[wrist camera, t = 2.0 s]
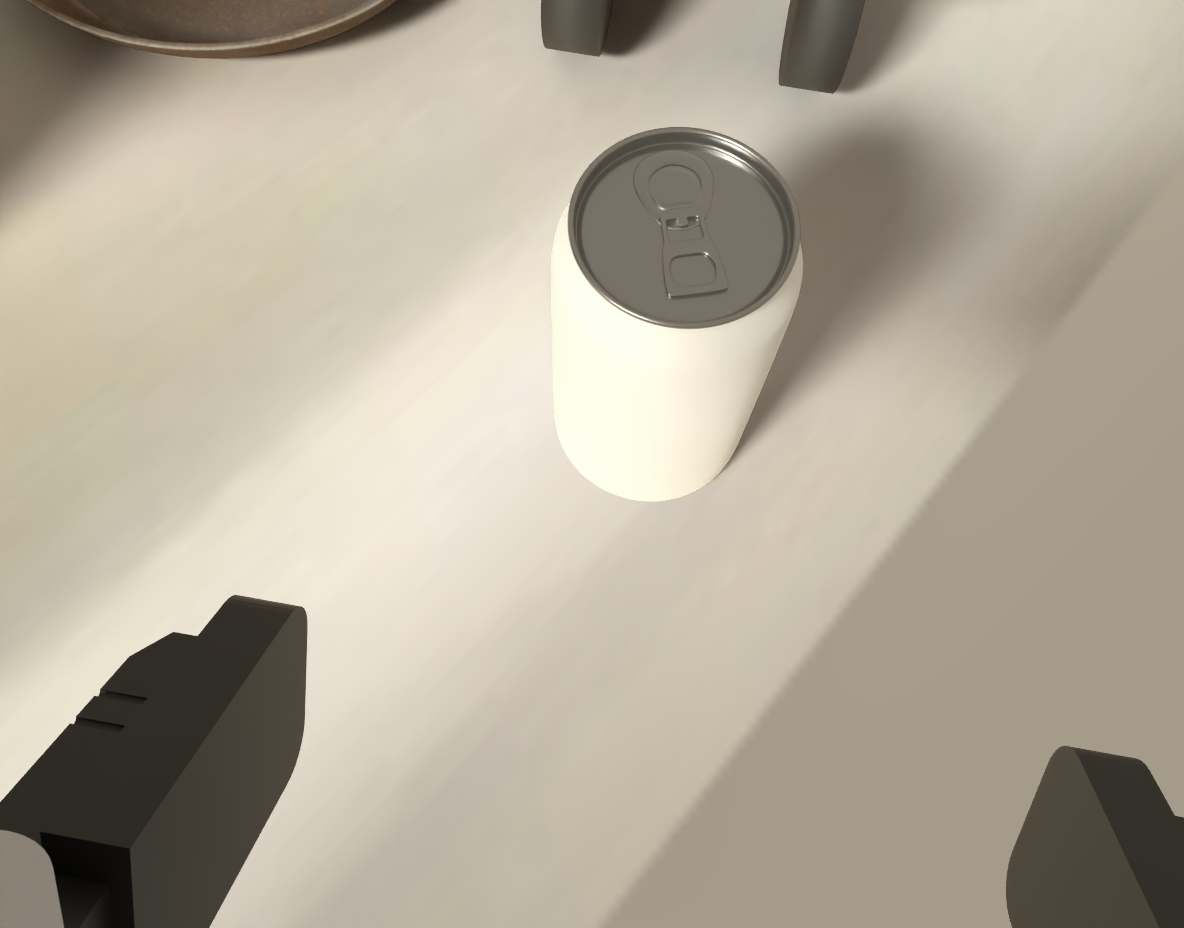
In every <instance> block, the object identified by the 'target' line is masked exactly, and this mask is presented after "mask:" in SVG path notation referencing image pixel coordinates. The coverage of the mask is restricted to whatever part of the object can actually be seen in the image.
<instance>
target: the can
mask: <svg viewBox="0 0 1184 928" xmlns="http://www.w3.org/2000/svg"><path fill="white" fill-rule="evenodd" d="M800 235H801V232H800V219H799V214H798V209H797V206H796V203H795V200H794V198H793V195H792V193H791V191H790V189H789V187H788V186H787V184H786V182H785V181H784V179H783V178H782V177H781V175H780V174H779V173H778V171H777V170H776V169H775V168H774V167H773V166H772V165H771V164H770V163H769V162H768V161H767V160H766V159H765V158H764V157H762V156H761V155H760V154H759V153H757V152H756V151H755V150H753V149H752V148H750V147H748V146H747V145H745V144H743V143H741V142H739V141H738V140H735V139H733V138H731V137H728V136H726V135H723V134H720V133H717V132H713V131H709V130H704V129H698V128H689V127H668V128H660V129H654V130H649V131H645V132H641V133H638V134H635V135H633V136H630V137H628V138H626V139H624V140H622V141H620V142H618V143H616V144H614V145H613V146H611V147H610V148H608V149H607V150H605V151H604V152H603V153H602V154H600V155H599V156H598V157H597V158H596V159H595V160H594V161H593V162H592V163H591V164H590V165H589V167H588V168H587V169H586V170H585V172H584V173H583V175H582V176H581V178H580V179H579V181H578V183H577V185H576V187H575V189H574V192H573V195H572V198H571V201H570V202H569V204H568V205H567V207H566V209H565V210H564V212H563V214H562V216H561V218H560V221H559V223H558V226H557V229H556V233H555V237H554V242H553V248H552V259H551V315H552V361H553V396H554V415H555V424H556V429H557V433H558V436H559V440H560V442H561V445H562V447H563V449H564V451H565V453H566V455H567V456H568V458H569V459H570V461H571V462H572V463H573V465H574V466H575V467H576V468H577V469H578V471H579V472H580V473H581V474H582V475H584V476H585V477H586V478H587V479H588V480H589V481H591V482H592V483H594V484H595V485H597V486H598V487H600V488H602V489H603V490H605V491H607V492H610V493H612V494H614V495H617V496H620V497H623V498H627V499H632V500H638V501H663V500H670V499H674V498H678V497H681V496H684V495H687V494H689V493H692V492H694V491H696V490H698V489H699V488H701V487H703V486H704V485H706V484H707V483H708V482H710V481H711V480H712V479H713V478H715V477H716V476H717V475H718V474H719V473H720V472H721V470H722V469H723V468H724V467H725V465H726V464H727V463H728V461H729V460H730V458H731V456H732V455H733V453H734V451H735V449H736V447H737V445H738V443H739V440H740V438H741V436H742V434H743V432H744V429H745V427H746V425H747V422H748V420H749V418H750V415H751V413H752V411H753V408H754V406H755V404H756V401H757V399H758V397H759V394H760V392H761V390H762V387H763V385H764V382H765V380H766V378H767V375H768V373H769V371H770V368H771V366H772V363H773V361H774V359H775V356H776V354H777V351H778V349H779V347H780V344H781V342H782V339H783V337H784V335H785V332H786V330H787V327H788V325H789V322H790V320H791V317H792V315H793V312H794V309H795V306H796V303H797V300H798V297H799V293H800V288H801V283H802V276H803V256H802V249H801V244H800Z"/></svg>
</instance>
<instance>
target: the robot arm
mask: <svg viewBox="0 0 1184 928" xmlns="http://www.w3.org/2000/svg"><path fill="white" fill-rule="evenodd" d="M306 657H307V615H306V612H305V609H304V608H303V607H300V606H294V605H289V604H283V603H278V602H272V601H267V600H261V599H255V598H250V597H244V596H239V595H233V596H231V597H230V598H229V599H228V600H227V601H226V602H225V603H224V604H223V605H222V607H221V608H220V609H219V610H218V612H217V613H216V614H215V615H214V617H213V618H212V619H211V620H210V621H209V623H208V624H207V625H206V626H205V628H204V629H203V630H202V631H201V633H200V634H199V635H198V636H193V635H187V634H181V633H176V632H173V633H171V634H169V635H167V636H165V637H164V638H162V639H160V640H158V641H156V642H155V643H153V644H151V645H149V646H148V647H146V648H144V649H142V650H140V651H139V652H137V653H135V654H133V655H131V656H130V657H129V658H128V659H127V660H126V661H125V662H124V663H123V664H122V666H121V667H120V668H119V669H118V670H117V671H116V672H115V673H114V675H113V676H112V677H111V678H110V679H109V680H108V681H107V682H106V684H105V685H104V686H103V687H102V688H101V689H100V694H99V696H94V697H93V698H92V699H91V701H90V702H89V703H88V704H87V705H86V706H85V707H84V708H83V710H82V711H81V712H80V713H79V714H78V715H77V716H76V721H75V723H74V724H69V725H68V726H67V728H66V729H65V730H64V731H63V732H62V733H61V734H60V735H59V737H58V738H57V739H56V740H55V741H54V742H53V743H52V745H51V746H50V747H49V748H48V749H47V750H46V751H45V752H44V754H43V755H42V756H41V757H40V758H39V759H38V760H37V761H36V763H35V764H34V765H33V766H32V767H31V768H30V769H29V770H28V772H27V773H26V774H25V775H24V776H23V777H22V778H21V779H20V781H19V782H18V783H17V784H16V785H15V786H14V787H13V789H12V790H11V791H10V792H9V793H8V794H7V795H6V796H5V798H4V799H3V800H2V801H1V802H0V928H209V927H210V925H211V923H212V921H213V920H214V918H215V916H216V914H217V912H218V910H219V908H220V907H221V905H222V903H223V901H224V899H225V897H226V896H227V894H228V892H229V890H230V888H231V886H232V885H233V883H234V881H235V879H236V877H237V875H238V874H239V872H240V870H241V868H242V866H243V864H244V863H245V861H246V859H247V857H248V855H249V853H250V851H251V850H252V848H253V846H254V844H255V842H256V840H257V839H258V837H259V835H260V833H261V831H262V829H263V828H264V826H265V824H266V822H267V820H268V818H269V817H270V815H271V813H272V811H273V809H274V807H275V806H276V804H277V802H278V800H279V798H280V796H281V794H282V793H283V791H284V789H285V787H286V785H287V783H288V781H289V779H290V777H291V775H292V773H293V770H294V767H295V764H296V761H297V758H298V755H299V751H300V747H301V742H302V737H303V731H304V721H305V690H306ZM1006 900H1007V909H1008V914H1009V918H1010V922H1011V925H1012V928H1184V818H1183V817H1178V816H1175V815H1174V814H1173V812H1172V810H1171V808H1170V806H1169V805H1168V803H1167V801H1166V799H1165V797H1164V796H1163V794H1162V792H1161V790H1160V788H1159V787H1158V785H1157V783H1156V781H1155V779H1154V778H1153V776H1152V774H1151V772H1150V770H1149V769H1148V768H1147V766H1146V765H1145V764H1144V763H1143V762H1142V761H1141V760H1139V759H1135V758H1130V757H1124V756H1118V755H1112V754H1108V753H1101V752H1096V751H1090V750H1085V749H1080V748H1074V747H1069V746H1062V747H1060V748H1058V749H1057V750H1056V751H1055V753H1054V754H1053V755H1052V757H1051V758H1050V761H1049V763H1048V765H1047V768H1046V770H1045V772H1044V775H1043V777H1042V780H1041V782H1040V785H1039V787H1038V790H1037V792H1036V795H1035V797H1034V799H1033V802H1032V804H1031V807H1030V809H1029V812H1028V814H1027V817H1026V819H1025V822H1024V824H1023V827H1022V829H1021V832H1020V834H1019V837H1018V839H1017V842H1016V844H1015V846H1014V849H1013V851H1012V854H1011V857H1010V861H1009V866H1008V871H1007V881H1006Z"/></svg>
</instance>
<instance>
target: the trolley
mask: <svg viewBox="0 0 1184 928" xmlns="http://www.w3.org/2000/svg"><path fill="white" fill-rule="evenodd" d="M864 2H865V0H790V5H789V11H788V16H787V22H786V28H785V34H784V40H783V46H782V53H781V60H780V69H779V85H781V86H788V87H794V88H800V89H807V90H813V91H819V92H826V93H832V94H833V93H834V92H835V91H836V90H837V88H838V86H839V84H840V82H841V79H842V77H843V74H844V71H845V69H846V66H847V63H848V60H849V57H850V54H851V50H852V47H853V44H854V40H855V37H856V33H857V29H858V26H859V22H860V18H861V14H862V10H863V6H864ZM612 6H613V0H541V28H542V38H543V43H544V46H545V48H548V49H555V50H561V51H567V52H573V53H580V54H586V55H592V56H600V54H601V52H602V49H603V46H604V43H605V39H606V35H607V30H608V26H609V21H610V16H611V11H612Z"/></svg>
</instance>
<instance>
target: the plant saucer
mask: <svg viewBox="0 0 1184 928" xmlns="http://www.w3.org/2000/svg"><path fill="white" fill-rule="evenodd" d="M27 1H28V2H30V3H31V4H32V5H34V6H36V7H37V8H39V9H41V10H42V11H44V12H46V13H48V14H49V15H51V16H53V17H55V18H57V19H59V20H61V21H63V22H64V23H66V24H68V25H70V26H72V27H74V28H77V29H79V30H82V31H84V32H87V33H89V34H91V35H94V36H96V37H99V38H102V39H105V40H107V41H110V42H114V43H117V44H120V45H124V46H127V47H131V48H135V49H139V50H144V51H149V52H153V53H160V54H166V55H173V56H180V57H192V58H240V57H254V56H260V55H266V54H272V53H278V52H283V51H287V50H291V49H295V48H298V47H302V46H306V45H309V44H312V43H316V42H319V41H322V40H325V39H327V38H330V37H333V36H335V35H337V34H340V33H342V32H344V31H347V30H349V29H351V28H353V27H355V26H357V25H359V24H361V23H362V22H364V21H366V20H368V19H369V18H371V17H373V16H374V15H376V14H378V13H379V12H381V11H382V10H384V9H385V8H387V7H388V6H390V5H391V4H392V3H394V2H395V1H396V0H27Z"/></svg>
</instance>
